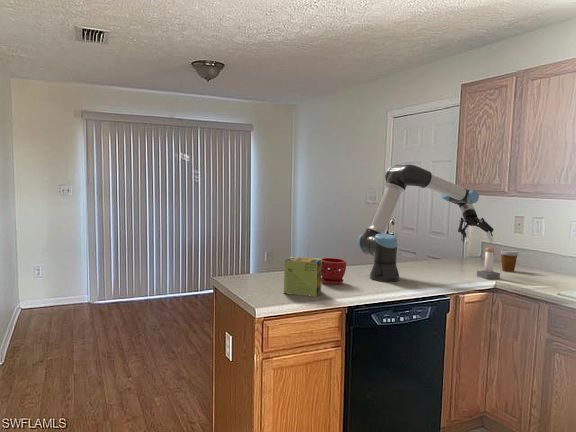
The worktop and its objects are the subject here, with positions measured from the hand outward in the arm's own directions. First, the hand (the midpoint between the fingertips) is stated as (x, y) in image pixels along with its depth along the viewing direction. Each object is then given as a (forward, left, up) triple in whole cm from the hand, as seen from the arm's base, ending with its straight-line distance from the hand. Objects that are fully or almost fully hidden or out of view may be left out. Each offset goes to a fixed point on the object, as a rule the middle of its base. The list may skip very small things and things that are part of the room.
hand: (480, 241), depth 247 cm
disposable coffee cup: (+26, +7, -19) cm, 33 cm away
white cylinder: (-2, -11, -18) cm, 21 cm away
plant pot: (-89, -6, -19) cm, 91 cm away
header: (-2, -11, -19) cm, 22 cm away
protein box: (-109, -22, -19) cm, 113 cm away
